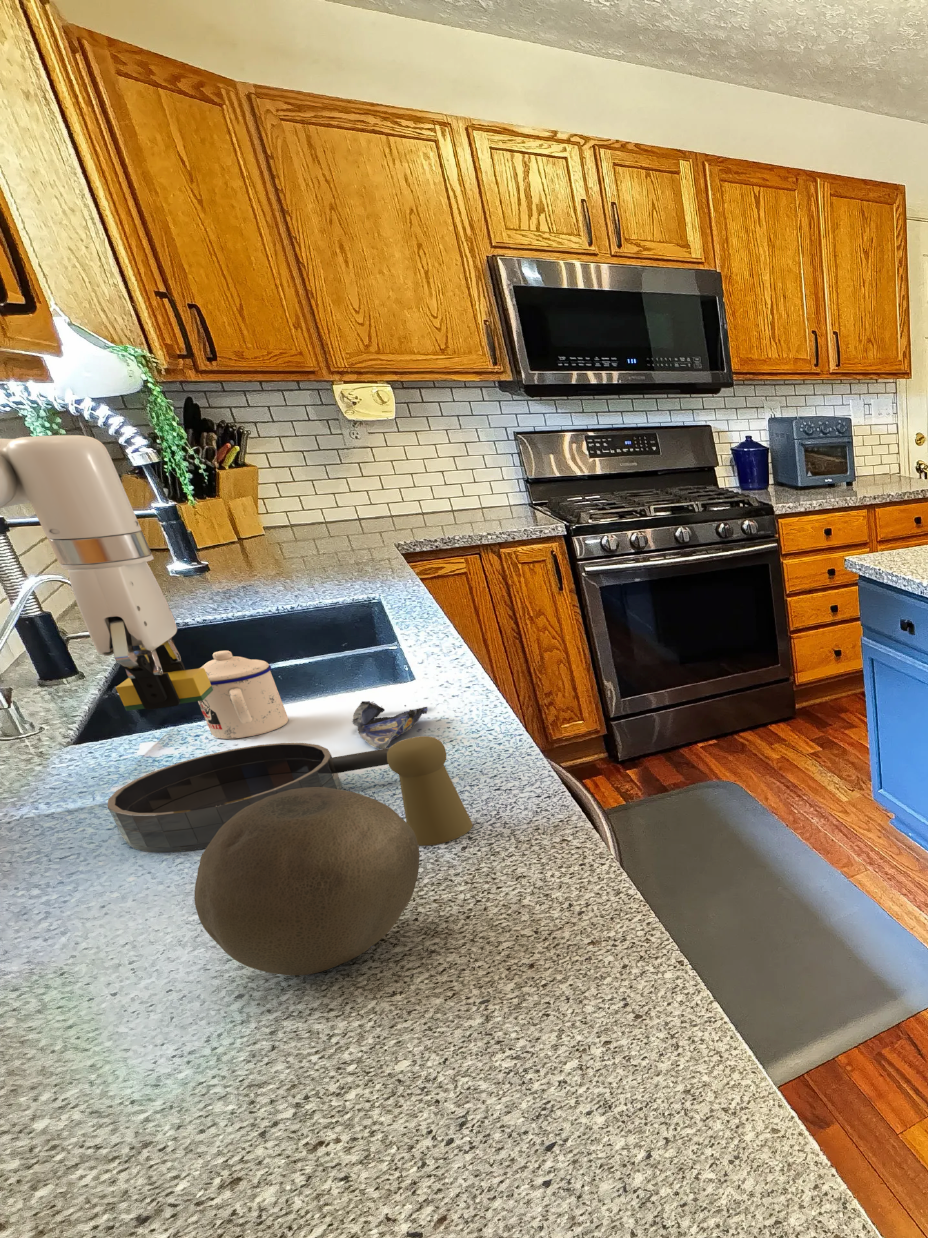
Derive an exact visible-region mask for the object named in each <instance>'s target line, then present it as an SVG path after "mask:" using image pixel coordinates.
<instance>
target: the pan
mask: <svg viewBox="0 0 928 1238" xmlns="http://www.w3.org/2000/svg"><path fill="white" fill-rule="evenodd" d="M330 758H332V754H331V752H330V750H329V749H328V748H326V747H325V746H322V745H319V744H315V743H307V742H277V743H266V744H258V745H251V746H245V747H238V748H233V749H232V748H231V749H227V750H223V751H218V752H214V753H208V754H205V755H201V756H197V757H193V758H191V759H186V760H183V761H180V762H177V763H174V764H171V765H168V766H165V767H163V768H159V769H157V770H154V771H152V772H149V773H147V774H145V775H142V776H140V777H138V778H136V779H133V780H132V781H130V782H129V783H127V784H125V785H123V786H121V787H120V788H118V789H117V790H116V791H115V792H114V793H112V795H111V796H109V798H108V799H107V809H108V811H109V813H110V815H111V817H112V819H113V821H114V823H115V826H116V827H117V829H118V832H119V833H120V835H121V837H122V839H123V840H124V841H125V843H126V844H127V845H128V846H129V847H130V848H132V849H134V850H138V851H142V852H148V853H179V852H188V851H189V852H190V851H196V850H197V851H198V850H205V849H206V847H207V846H208V845H209V843H210V842H211V840H212V839H213V838H214V836H215V835H216V833H217V832H218V830H219V829H220V828H221V827H222V826H223V825H224V824H225V823H226V822H227V821H228V820H229V819H231V818H232V817H233V816H234V815H235V814H237V813H238V812H239V811H241V810H242V809H243V808H245V807H247V806H249V805H251V804H253V803H255V802H258V801H260V800H262V799H264V798H266V797H269V796H271V795H275V794H277V793H280V792H284V791H287V790H291V789H298V788H307V787H325V788H332V789H339V790H343V786H342V781H341V778H340V775H339V773H333V772H332V771H331V769H330V765H329V759H330Z"/></svg>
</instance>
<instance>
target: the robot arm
mask: <svg viewBox="0 0 928 1238" xmlns="http://www.w3.org/2000/svg"><path fill="white" fill-rule="evenodd" d="M123 485H124V484H123V483H122V481H121V479H120V476H119V473H118V471H117V468H116V466H115V465H114V462H113V460H112V457H111V455H110V453H109V452H108V449H107V447H106V446H105V444H104V443H102V442H101V440H99V439H97V438H95V437H92V436H87V435H79V434H75V435H74V434H73V435H71V434H70V435H69V434H67V435H66V434H65V435H63V434H62V435H37V436H36V435H35V436H22V437H21V436H20V437H16V438H0V509H3V508H7V507H13V506H20V505H25V504H30V505H31V507H32V509H33V511H34V513H35V516H36V517H37V520H38V522H39V524H40V526H41V528H42V531H43V533H44V535H45V536H46V539H47V540H48V542H49V545H50V547H51V549H52V551H53V553H54V555H55V557H56V560H57V561H58V562H57V563H58V564H59V566H60V568H61V569H62V570H64V571H65V570H66V571H67V574H68V578H69V583H70V586H71V589H72V593H73V597H74V599H75V602H76V604H77V607H78V609H79V612H80V614H81V617H82V620H83V622H84V625H85V627H86V629H87V632H88V634H89V637H90V640H91V642H92V645H93V647H94V649H95V651H96V652H97V653H98V654H100V655H102V656H104V657H106V656H107V657H108V656H112V655H113V657H114V660H115V662H116V663H117V664H119V665H121V666H122V668H124V670H125V672H126V675H127V678H130V679H131V681H132V683H133V685H134V687H135V690H136V692H137V694H138V696H139V698H140V700H141V702H142V705H143V707H144V708H145V709H144V710H156V709H163V708H164V709H165V708H170V707H177V706H179V705H181V704H180V699H179V697H178V695H177V692H176V690H175V688H174V686H173V683H172V681H171V679H170V677H169V674H168V673H166V672H174V671H183V670H186V667H185V665H184V663H183V661H182V658H181V654H180V652H179V651H178V649H177V647H176V643H175V640H174V639H173V637H174V636H175V635H176V634H177V632H178V626H177V623H176V620H175V617H174V614H173V612H172V610H171V608H170V606H169V603H168V601H167V599H166V596H165V594H164V593H163V590H162V589H161V587H160V585H159V582H158V580H157V578H156V577H155V575H154V573H153V571H152V569H151V567H150V565H149V564H148V562H151V561H153V560H155V558H154V556H153V553H152V551H151V549H150V546H149V544H148V542H147V539H146V537H145V534H144V532H143V530H142V528H141V525H140V522H139V520H138V518H137V516H136V514H135V511H134V509H133V506H132V505H131V501H130V500H129V497H128V494H127V493H126V490H125V488H124V486H123ZM136 646H138V647H139V649H137V650H136V649H135V650H134V647H136ZM140 656H141V657H140ZM143 656H144V657H143Z"/></svg>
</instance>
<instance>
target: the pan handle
mask: <svg viewBox="0 0 928 1238" xmlns="http://www.w3.org/2000/svg"><path fill="white" fill-rule="evenodd" d="M385 748H386V749H381V748H379V749H375V750H368V751H361V752H355V753H349V754H345V755H339V756H333V757H332V758H330V759H329V765H330V769H331V771H332V772H333V773H338V774H341V773H346V772H353V771H359V770H364V769H370V768H371V769H372V768H376V767H382V766H389V765H388V762H387V752H388V750H389V748H390V747H385Z"/></svg>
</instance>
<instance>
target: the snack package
mask: <svg viewBox="0 0 928 1238" xmlns="http://www.w3.org/2000/svg"><path fill="white" fill-rule="evenodd" d="M404 707H407V705H406V704H405V705H404ZM384 712H385V708H384V707H383V705H379V704H377V703H376V702H374V701H370V700H365V701H363V700H362V701H361V702H360V704H359V705H358V706H357V708H356V709H355V711H354V712H353V716H352V717H353V718H352V721H351V722H352V725H354V726H355V727H357V732H358V735H359V736H360V738H361V739H362V740H364V741H365V742H367V743H368V745H369V746H371V747H374V748H377V749H386V748H388V747H389V745H390V743H391V741H393V740H394V739H396V738H397V737H399V736H401V735H402V734H404V733H406V732H408V731H410V730H411V729H413V728H415V726H416V724H417V723H418V721H419V719H420V718H421V717H422V716H423V715H426V714H427V712H428V706H423V707H420V708H419V707H418V708H416V709H409V710H406V711H403V712H400V713H398V714H396V715H394V716H383V717H379V716H380V715H381V714H382V713H384Z"/></svg>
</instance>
